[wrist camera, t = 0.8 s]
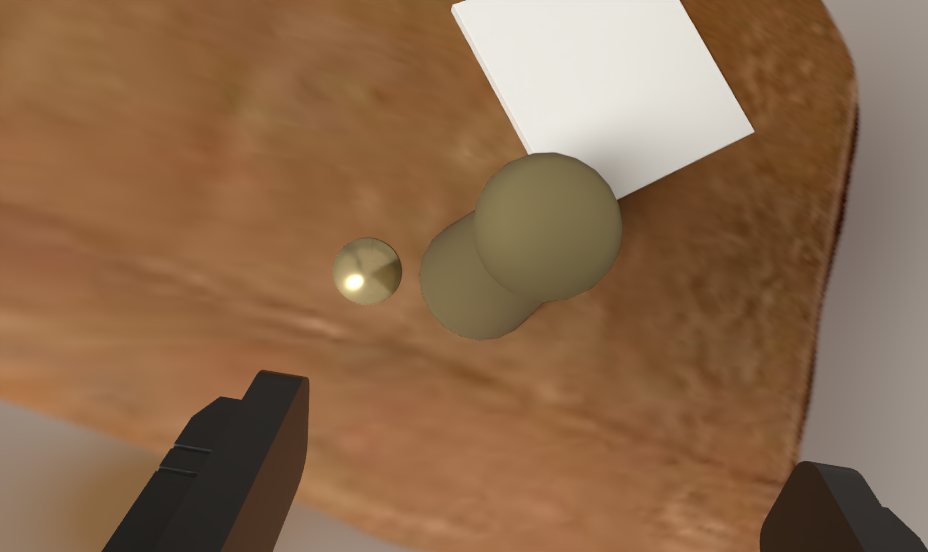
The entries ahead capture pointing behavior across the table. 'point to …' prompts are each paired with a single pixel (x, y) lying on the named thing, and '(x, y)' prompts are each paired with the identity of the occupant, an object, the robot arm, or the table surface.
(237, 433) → the robot arm
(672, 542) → the table surface
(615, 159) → the white mat
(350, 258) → the brass coin
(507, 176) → the cork
